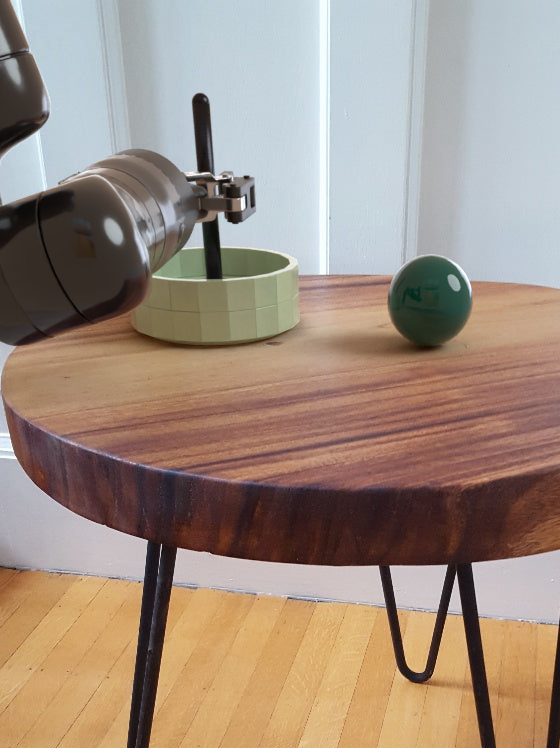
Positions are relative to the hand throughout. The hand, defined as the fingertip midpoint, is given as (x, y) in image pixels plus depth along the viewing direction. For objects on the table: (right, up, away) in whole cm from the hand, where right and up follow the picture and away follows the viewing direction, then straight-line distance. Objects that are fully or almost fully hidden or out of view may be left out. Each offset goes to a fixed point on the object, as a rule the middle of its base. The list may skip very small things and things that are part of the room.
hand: (179, 184), depth 80 cm
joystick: (+1, -5, +16) cm, 17 cm away
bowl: (0, -6, +17) cm, 18 cm away
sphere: (+21, -10, +12) cm, 26 cm away
